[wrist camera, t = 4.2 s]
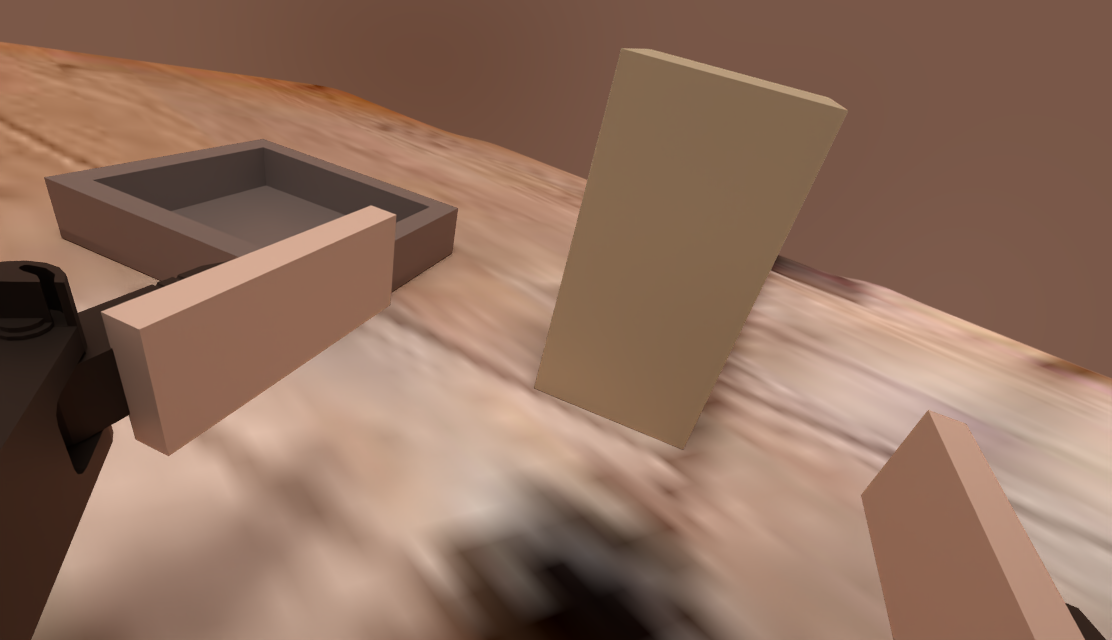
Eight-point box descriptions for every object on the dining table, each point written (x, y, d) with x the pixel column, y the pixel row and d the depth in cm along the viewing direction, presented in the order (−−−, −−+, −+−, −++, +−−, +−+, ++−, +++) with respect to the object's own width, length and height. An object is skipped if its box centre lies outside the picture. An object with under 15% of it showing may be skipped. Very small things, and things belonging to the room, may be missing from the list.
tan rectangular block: (695, 386, 27) (829, 97, 19) (682, 449, 22) (848, 110, 15) (568, 337, 28) (649, 49, 21) (534, 388, 24) (621, 48, 16)
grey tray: (452, 252, 33) (457, 208, 32) (309, 345, 23) (308, 285, 21) (266, 183, 36) (263, 138, 34) (61, 237, 25) (44, 177, 24)
